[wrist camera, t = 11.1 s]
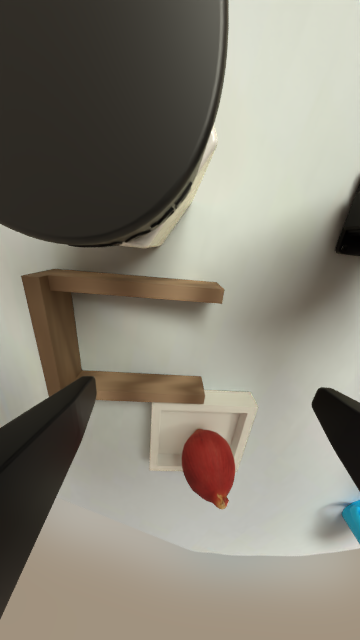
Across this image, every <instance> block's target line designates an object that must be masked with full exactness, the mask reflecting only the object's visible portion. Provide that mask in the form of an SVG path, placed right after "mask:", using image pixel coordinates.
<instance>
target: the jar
mask: <svg viewBox="0 0 360 640" xmlns="http://www.w3.org/2000/svg"><path fill="white" fill-rule="evenodd" d="M227 45H228V0H0V224H2V225H4V226H6V227H8V228H10V229H12V230H15V231H17V232H20V233H22V234H25V235H27V236H30V237H33V238H36V239H40V240H44V241H48V242H53V243H59V244H67V245H69V246H74V247H107V246H116V245H120V246H128V247H138V248H151V247H157V246H161V245H162V244H163V242H164V241H165V239H166V238H167V237H168V235H169V234H170V232H171V231H172V230H173V228H174V227H175V225H176V224H177V222H178V221H179V220H180V218H181V217H182V215H183V214H184V212H185V211H186V210H187V208H188V207H189V205H190V204H191V203H192V201H193V199H194V197H195V195H196V192H197V190H198V188H199V185H200V183H201V181H202V179H203V176H204V174H205V172H206V170H207V167H208V165H209V163H210V161H211V158H212V156H213V154H214V151H215V149H216V147H217V142H218V140H217V134H216V130H215V126H214V122H215V118H216V115H217V111H218V107H219V103H220V98H221V93H222V88H223V82H224V75H225V68H226V58H227Z"/></svg>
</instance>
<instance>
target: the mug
mask: <svg viewBox="0 0 360 640" xmlns="http://www.w3.org/2000/svg"><path fill="white" fill-rule="evenodd" d="M342 516H343V518H344V520H345V521H346V523H347V524H348V526H349V528H350V529H351V531H352V532H353V534H354V536H355V537H356V539H357V541H358V542H359V544H360V500H358V501H356V502H353V503H351V504H350V505H348V506H347V507H346V508H345V509H344V510H343V512H342Z"/></svg>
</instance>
